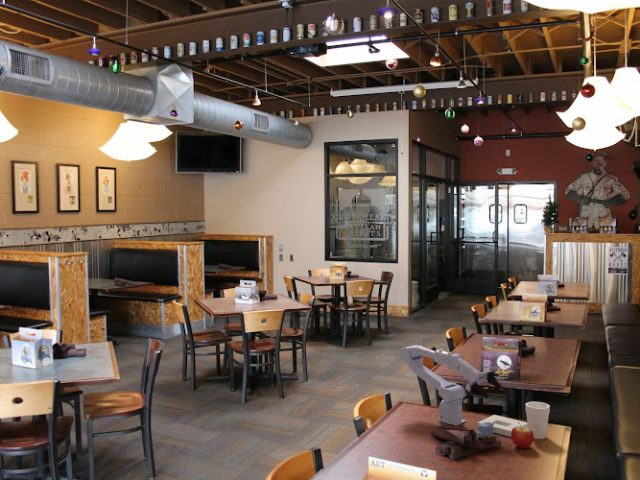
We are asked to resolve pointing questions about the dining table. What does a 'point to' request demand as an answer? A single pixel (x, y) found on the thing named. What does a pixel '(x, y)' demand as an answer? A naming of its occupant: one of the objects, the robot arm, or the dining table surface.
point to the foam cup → (537, 418)
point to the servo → (486, 429)
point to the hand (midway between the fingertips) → (494, 392)
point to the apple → (522, 436)
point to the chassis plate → (503, 424)
